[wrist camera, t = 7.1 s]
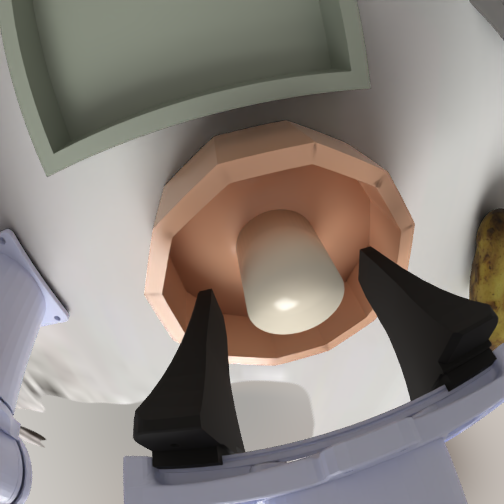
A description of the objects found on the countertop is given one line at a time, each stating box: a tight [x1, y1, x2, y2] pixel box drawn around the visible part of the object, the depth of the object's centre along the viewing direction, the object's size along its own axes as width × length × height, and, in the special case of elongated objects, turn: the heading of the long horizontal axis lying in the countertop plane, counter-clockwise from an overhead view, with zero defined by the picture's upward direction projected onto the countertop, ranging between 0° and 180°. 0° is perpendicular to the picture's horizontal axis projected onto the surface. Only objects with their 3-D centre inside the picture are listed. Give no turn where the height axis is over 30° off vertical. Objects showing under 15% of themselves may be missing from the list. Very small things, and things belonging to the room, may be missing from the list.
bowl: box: [144, 120, 415, 366], centre depth 15 cm, size 13×13×4 cm
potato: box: [469, 209, 504, 351], centre depth 18 cm, size 8×13×8 cm, turn 0°
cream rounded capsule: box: [236, 209, 345, 334], centre depth 14 cm, size 4×4×4 cm
